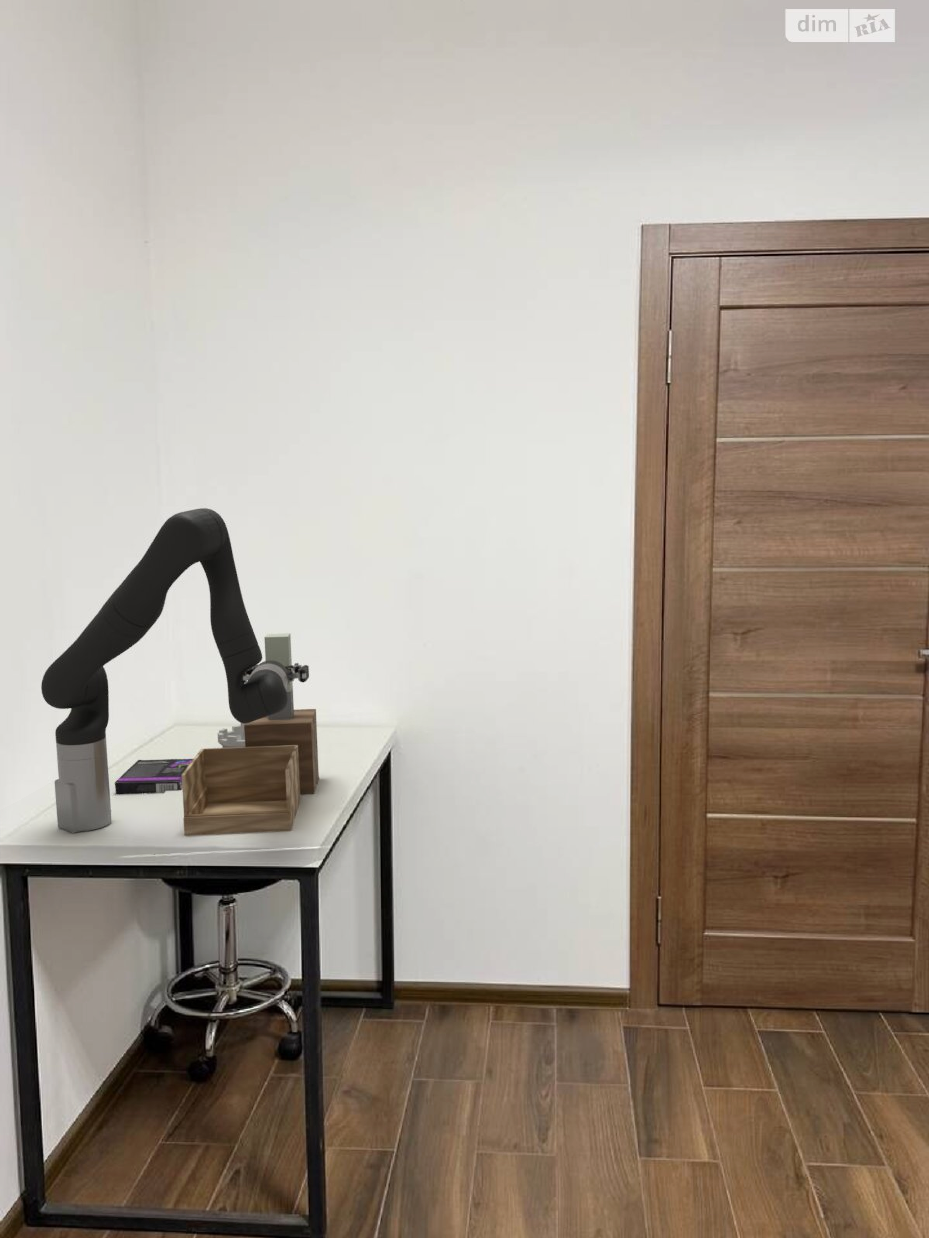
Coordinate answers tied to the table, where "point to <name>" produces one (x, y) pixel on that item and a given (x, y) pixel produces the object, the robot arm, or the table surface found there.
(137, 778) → the box
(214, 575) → the robot arm
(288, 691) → the box
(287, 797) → the wooden open bin
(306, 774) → the riser
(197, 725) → the table surface
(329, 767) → the table surface
